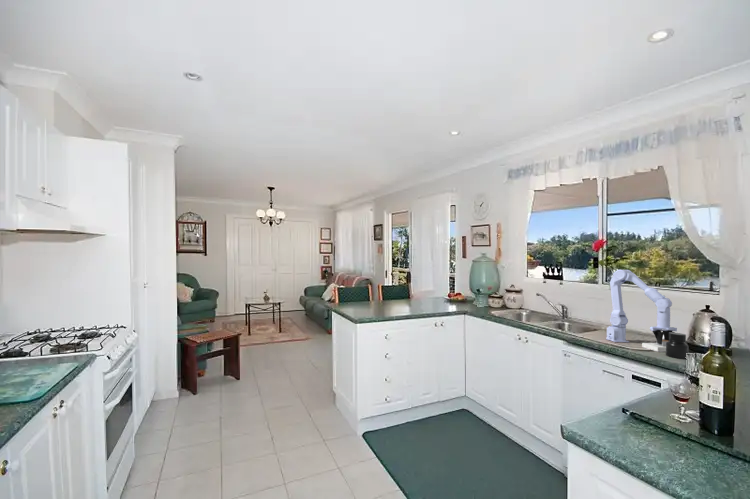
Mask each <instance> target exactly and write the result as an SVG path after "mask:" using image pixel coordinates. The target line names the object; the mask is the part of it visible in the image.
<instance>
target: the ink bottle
mask: <svg viewBox="0 0 750 499" xmlns="http://www.w3.org/2000/svg"><path fill="white" fill-rule="evenodd" d="M673 332H674V331H672V332H669V340H670V341H668V342H666V352H665V356H666V357H670V358H675V359H678V360H686V359H685V357H686V353H688V352H689V351H690V350H689V345H688V344H687V343H686V342H687V334H685V333H681V332H675V333H673Z"/></svg>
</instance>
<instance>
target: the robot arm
mask: <svg viewBox="0 0 750 499" xmlns="http://www.w3.org/2000/svg"><path fill="white" fill-rule="evenodd" d="M627 281H628V282H632V283H634V285H636V286H637V287H638V288H640V289H641V290H642V291H644V295H645V296H646V297H647V298H648V299H650V300H651V301H652V302H653V303H654V304H655V306H656V307H657V308H656V309H657V310H656V326H650V327H649V330H650V331H652V334H654V337H655V339H656V343H658V344H662V338H663V335H664V339H665V340H669V332H673V333H676V332H677V331H678V328H677V327H672V326H671V307H672V306H673V302H672V300H671V299H670V298H668V297H666V296H665V295H663V294H662V293H661V292H659V290H658V289H657V288H655V287H650V286H648V284H646V283H645V282H644V281H643V280H642V279H641V278H640V277H638V275H636V274H635V273H634V272H633V271H631V270H630V269H616V271H614V272H613V273H612V277H611V279H610V282H609V286H610V295H611V296H610V297H611V304H612V307H611V308H612V311H611V314H610V318H609V322H610V324H611V326H610V325H609V326H607V328H606V337H605V339H606V340H607V341H612V342H613V343H614V342H615V343H630V341H629V340H626V338H627V326H626V325H628V322H629V319H628V317H627V315H626V314H627V313H626V312H625V311H624V306H623V297H622V294H623V293H622V286H621V285H623V284H624V283H625V282H627ZM669 341H670V340H669Z"/></svg>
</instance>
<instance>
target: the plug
mask: <svg viewBox="0 0 750 499" xmlns="http://www.w3.org/2000/svg"><path fill="white" fill-rule="evenodd" d="M668 341H669V340H665V339H662V344H658V343H657V342H655V343H656V345H659V346H663V347H666V342H668Z"/></svg>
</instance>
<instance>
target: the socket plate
mask: <svg viewBox="0 0 750 499" xmlns="http://www.w3.org/2000/svg"><path fill="white" fill-rule="evenodd" d="M656 343H657V342H642V344H641V347H642V348H643V349H648V350H650V349H651V351H654V352H656V353H657V352H658V353H666V347H663V346H659V345H656Z"/></svg>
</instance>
